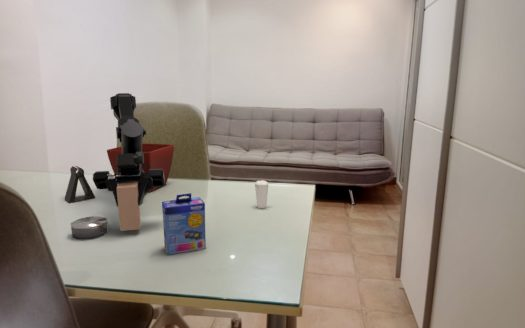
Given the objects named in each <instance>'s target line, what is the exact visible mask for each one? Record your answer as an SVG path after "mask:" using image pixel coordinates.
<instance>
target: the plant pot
mask: <svg viewBox="0 0 525 328" xmlns="http://www.w3.org/2000/svg"><path fill="white" fill-rule="evenodd" d="M174 149H175V145H174V144H170V143H169V144H168V143H167V144H166V143H145V142H142V152H143V154H144V164H141V169H142V168H143V170H144V172H145V174H149V169H162V170H163V171H164V177H165V185H164V186H166V185H167V183H168V182H167V181H168V179H169V176H170V172H171V167H172V163H173V159H174V158H173V157H174V152H175V151H174ZM106 153H107V158H108V161H109V164H110V165H111V169H112V171H113V174H115V175H117V171H118V166H117V154H122V147H121V146H117V147H113V148H110V149H106ZM120 183H121V182H120ZM153 187H154V186H153ZM162 187H163V186H158V187H154V188H153V189H150V190H149V191H148V193H151V192H153V191H156V190H158V189H159V188H162Z"/></svg>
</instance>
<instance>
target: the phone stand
mask: <svg viewBox="0 0 525 328" xmlns="http://www.w3.org/2000/svg"><path fill="white" fill-rule="evenodd" d="M78 183H79V184H80V186H81V188H82V191H83V193H84V195H79V196H77V195H76V194H77V188H78ZM95 199H96V196H95V194H94V192H93V190H92V189H91V186H90V183H89V182H88V180H87V178H86V177H85V170H84V169H83V168H81V167H79V166H78V165H75V166H74V165H72V166H71V167H70V177H69V181H68V184H67V188H66V191H65V196H64V200H65V201H66V202H67V203H69V204H75V203H79V202H86V201H91V200H95Z"/></svg>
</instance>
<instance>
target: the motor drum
mask: <svg viewBox="0 0 525 328" xmlns="http://www.w3.org/2000/svg"><path fill="white" fill-rule="evenodd" d="M70 228H71V236H72V239H73V240H77V241H88V240H95V239H99V238H101V237H103V236H105V235H107V234H108V231H109V230H108V219H107V217H104V216H100V215H99V216H97V215H96V216H95V215H93V216H86V217H82V218H78V219H76V220H73V221H72V222H71V223H70Z"/></svg>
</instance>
